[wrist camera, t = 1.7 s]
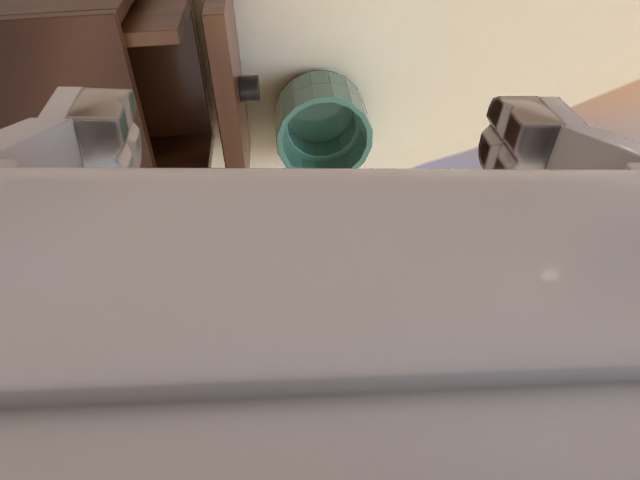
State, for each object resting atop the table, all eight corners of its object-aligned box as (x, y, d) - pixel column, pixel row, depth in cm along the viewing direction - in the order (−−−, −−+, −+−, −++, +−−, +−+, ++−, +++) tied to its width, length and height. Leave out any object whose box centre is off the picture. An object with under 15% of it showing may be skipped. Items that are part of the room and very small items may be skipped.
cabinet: (143, -35, 34) (113, 13, 27) (182, 147, 42) (167, 220, 35) (-103, -21, 34) (-199, 31, 26) (-16, 161, 42) (-73, 238, 34)
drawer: (249, -26, 34) (247, 12, 29) (266, 139, 41) (268, 196, 36) (3, -12, 33) (-49, 30, 28) (64, 154, 41) (33, 213, 35)
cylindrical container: (362, 64, 39) (373, 94, 36) (361, 144, 43) (371, 178, 40) (271, 70, 39) (273, 100, 35) (278, 150, 43) (280, 185, 39)
